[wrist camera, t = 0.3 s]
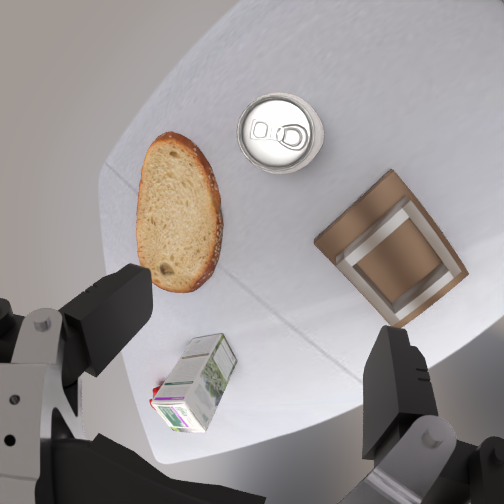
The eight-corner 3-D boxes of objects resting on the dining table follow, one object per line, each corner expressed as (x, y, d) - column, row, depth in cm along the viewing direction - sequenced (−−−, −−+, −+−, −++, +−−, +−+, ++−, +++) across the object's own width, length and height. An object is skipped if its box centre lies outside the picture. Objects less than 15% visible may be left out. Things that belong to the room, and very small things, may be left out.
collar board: (391, 168, 30) (398, 173, 26) (465, 268, 31) (476, 283, 27) (314, 239, 35) (312, 252, 31) (394, 324, 36) (398, 343, 33)
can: (317, 168, 32) (310, 186, 21) (260, 155, 33) (224, 167, 22) (329, 111, 29) (329, 98, 18) (270, 99, 30) (239, 83, 19)
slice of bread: (173, 119, 34) (158, 119, 31) (271, 228, 36) (265, 239, 33) (102, 211, 42) (86, 218, 38) (180, 301, 44) (168, 314, 40)
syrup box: (191, 337, 45) (146, 403, 32) (224, 332, 43) (183, 404, 30) (207, 365, 47) (170, 431, 34) (239, 361, 45) (206, 434, 32)
